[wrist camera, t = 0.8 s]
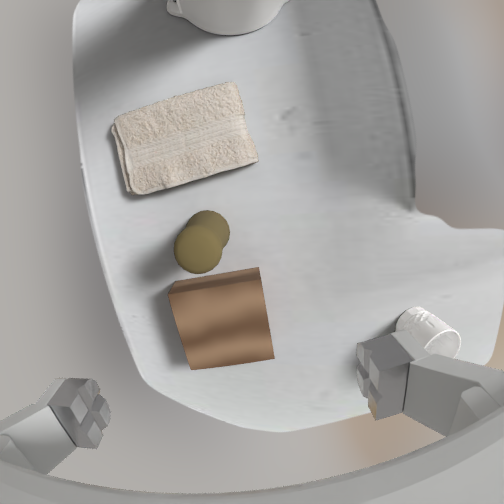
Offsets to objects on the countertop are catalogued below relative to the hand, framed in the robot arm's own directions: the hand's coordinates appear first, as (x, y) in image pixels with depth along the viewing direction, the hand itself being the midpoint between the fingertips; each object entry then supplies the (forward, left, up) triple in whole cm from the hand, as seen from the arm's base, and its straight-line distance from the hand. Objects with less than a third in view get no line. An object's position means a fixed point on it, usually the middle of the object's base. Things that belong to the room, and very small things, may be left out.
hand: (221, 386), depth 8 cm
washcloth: (-12, -5, -35) cm, 37 cm away
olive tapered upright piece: (+1, -4, -34) cm, 34 cm away
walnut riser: (+13, -4, -34) cm, 37 cm away
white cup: (+22, +26, -34) cm, 48 cm away
